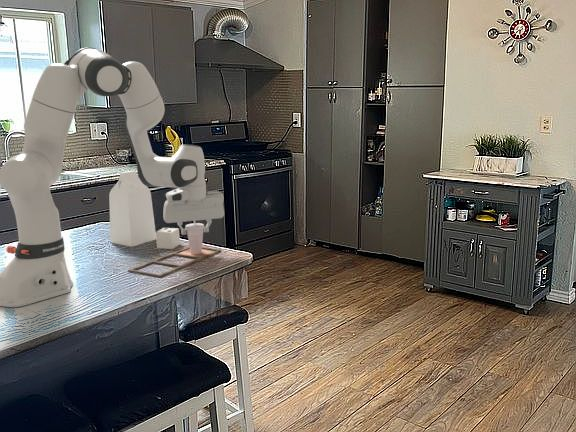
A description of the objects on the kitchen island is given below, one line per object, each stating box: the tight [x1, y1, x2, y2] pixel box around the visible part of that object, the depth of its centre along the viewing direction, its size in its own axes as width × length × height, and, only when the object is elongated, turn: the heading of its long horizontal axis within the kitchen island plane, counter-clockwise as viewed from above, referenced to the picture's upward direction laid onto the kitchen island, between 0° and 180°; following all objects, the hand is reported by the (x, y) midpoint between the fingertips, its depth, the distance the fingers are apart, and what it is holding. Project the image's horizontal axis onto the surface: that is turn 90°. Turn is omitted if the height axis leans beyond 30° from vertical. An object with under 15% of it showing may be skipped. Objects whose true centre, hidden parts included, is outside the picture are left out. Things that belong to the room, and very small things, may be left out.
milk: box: [108, 170, 157, 248], centre depth 212 cm, size 12×12×26 cm
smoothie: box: [184, 221, 205, 254], centre depth 195 cm, size 6×6×14 cm
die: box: [155, 227, 181, 250], centre depth 206 cm, size 6×6×6 cm
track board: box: [127, 245, 222, 279], centre depth 188 cm, size 31×13×1 cm, turn 150°
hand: (195, 233), depth 195 cm, fingers closed on smoothie, 6 cm apart
